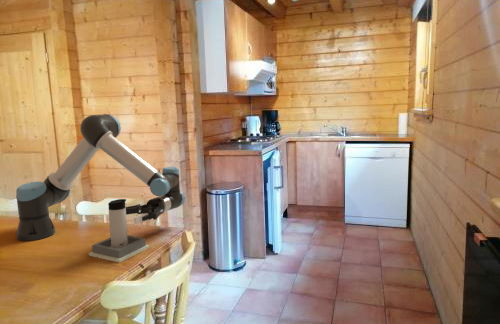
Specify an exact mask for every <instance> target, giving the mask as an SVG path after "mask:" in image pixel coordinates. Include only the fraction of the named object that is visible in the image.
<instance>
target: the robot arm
mask: <svg viewBox="0 0 500 324" xmlns="http://www.w3.org/2000/svg"><path fill="white" fill-rule="evenodd" d="M79 128H80V129H79V130H80V134H81V136H82V139H80V141H79V142H78V144H77V145H76V146H75V147H74V148H73V150H72V151H71V152H70V153H69V155H68V156H67V157H66V158H65V160H64V161H63V162H62V164H61V165H60V166H59V167H58V168H57V170H56V171H55V172H51V173H49V174H48V176H46V178H45V179H44V181H32V182H29V183H28V182H26V183H24V184H21V185H20V186H18V187H17V188H16V190H15V194H16V195H15V198H16V202H17V203H16V204H17V212H18V219H19V222H18V224H17V225H18V226H17V230H16V232H15V233H16V234H15V235H16V239H17V240H19V241H25V242H26V241H36V240H42V239H45V238H48V237H51V236H53V235H54V234H55V233H56V227H55V225H54V222H53V221H52V218H51V217H50V211H49V208H50V207H52V206H54V205H57V204H60V203H62V202H64V201H65V200H66V199H67V198H68V197H69V196H70V194H71V189H72V188H73V182H74V181H75V179H76V178H77V177H79V174H80V173H81V172H82V171H83V169H84V168H85V167H86V166H87V165H88V164H89V162H90V160H92V158H93V157H94V156H95V155H96V154H97V152H98V151H99V150H102V152H104V153H105V154H107V155H108V156H109V157H111V158H112V159H113V160H114V161H116V162H117V163H118V164H119V165H120V166H122V167H123V168H124V169H126V170H127V171H128V172H130V173H131V174H132V175H134V176H135V177H136V178H137V179H139V180H140V181H141V182H143V184H145V185H147V186H148V188H149V190H150V192H151V193H152V195H154V196H155V197H154V198H151V199H148V201H147V202H146V204H142V205H141V204H140V203H138V204H134V205H129V206H125V207H126V216H127V215H136V214H137V216H135V217H134V218H133V219H134V225H139V224H141V223H144V222H146V221H148V220H152V219H153V221H156V220H157V219H158V218H159V217H160V216H161V215H163V214H165V213H166V212H168V211H172V210H174V209H176V208H179V207H181V206H182V205H184V204H185V201H186V196H185V194H184V192H183V191H181V189H180V184H181V182H180V171H179V170H180V169H179V168H178V167H176V166H166V167H163V168H162V169H161V170H162V172H160V171H159V170H158V169H156V168H155V167H154V166H152V165H151V164H150V163H149V162H148V161H146V160H145V159H143V157H141V156H140V155H138V154H137V153H136V152H134V151H133V150H132V149H130V148H129V147H128V146H127V145H125V143H123V142H121V141H120V139H118V138H117V137H118V136H119V135H120V133H121V130H122V129H121V128H122V127H121V123H120V121H119V119H118V118H117V117H115V116H113V115H111V114H107V113H103V114H91V115H90V114H89V115H88V116H86V117H84V119H83V120H82V121H81V123H80V127H79Z"/></svg>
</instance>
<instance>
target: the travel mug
mask: <svg viewBox="0 0 500 324" xmlns="http://www.w3.org/2000/svg"><path fill="white" fill-rule="evenodd" d="M126 201H127V199H126V198H118V199H114V200H111V201H110V202H108V220H109V221H108V222H109V233H110V237H109V238H111V247H113V248H118V249H120V248H122V247H124V246H126V245H128V236H127V235H128V221H127V215H126V207H127V206H126Z"/></svg>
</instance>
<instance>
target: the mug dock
mask: <svg viewBox="0 0 500 324" xmlns="http://www.w3.org/2000/svg"><path fill="white" fill-rule="evenodd" d="M127 236H128V245H126V246H124V247H122V248H120V249H118V248H113V247H111V237H108V238H106V239H104V240H101V241H99V242H96V243H94V244H92V245H91V248H92V250H91V252H89V253H88V256H89V257H93V258H97V257H98V259H102V260H107V261H111V262H116V263H119V264H120V263H121V262H124V261H126V260H128V259H129V258H131V257H134V256H135V255H137V254H140V253H141V252H143V251H145V250H147V249H149V248H150V244H146V243H147V242H146V238H144V237H139V236H133V235H129V234H127Z"/></svg>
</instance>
